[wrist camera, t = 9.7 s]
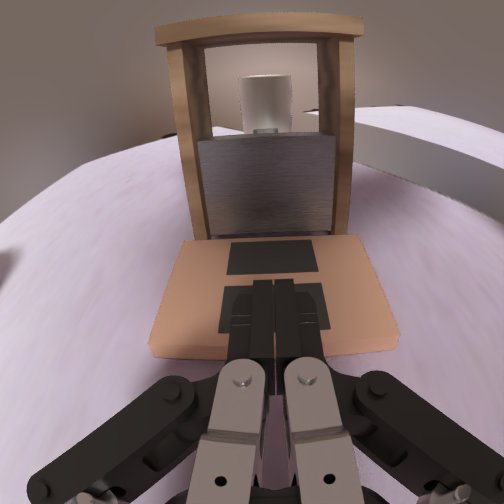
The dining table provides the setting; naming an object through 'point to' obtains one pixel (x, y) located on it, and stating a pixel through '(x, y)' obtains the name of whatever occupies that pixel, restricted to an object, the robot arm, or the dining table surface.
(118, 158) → the dining table surface
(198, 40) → the walnut tunnel
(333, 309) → the board
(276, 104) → the drinking glass
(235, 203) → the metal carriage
